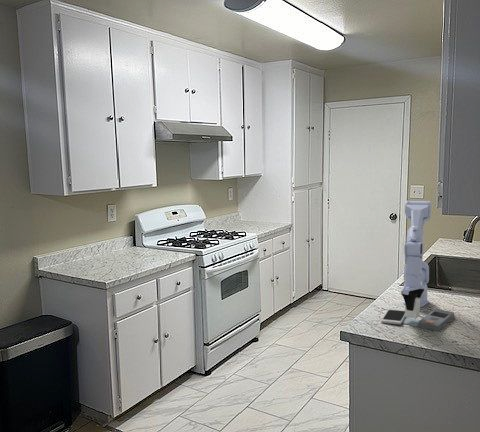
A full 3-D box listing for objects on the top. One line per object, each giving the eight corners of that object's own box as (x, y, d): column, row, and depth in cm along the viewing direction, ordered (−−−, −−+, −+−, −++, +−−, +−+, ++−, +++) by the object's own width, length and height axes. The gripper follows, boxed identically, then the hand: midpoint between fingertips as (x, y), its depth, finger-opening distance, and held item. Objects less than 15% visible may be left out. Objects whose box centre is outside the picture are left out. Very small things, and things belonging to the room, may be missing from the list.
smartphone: (407, 311, 179) (407, 309, 179) (400, 324, 165) (400, 322, 165) (389, 310, 182) (389, 307, 182) (381, 322, 169) (381, 320, 169)
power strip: (435, 313, 178) (435, 307, 177) (453, 317, 173) (454, 311, 173) (418, 326, 164) (418, 320, 164) (437, 331, 160) (438, 325, 159)
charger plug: (409, 313, 171) (409, 295, 170) (419, 315, 169) (420, 297, 168) (404, 316, 168) (405, 298, 167) (415, 318, 166) (416, 300, 165)
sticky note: (406, 318, 173) (406, 317, 173) (423, 321, 169) (423, 321, 169) (400, 322, 169) (400, 322, 169) (417, 326, 164) (417, 326, 164)
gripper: (416, 279, 158) (415, 316, 160) (431, 271, 169) (430, 305, 171) (397, 276, 163) (396, 312, 165) (412, 268, 174) (411, 302, 176)
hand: (412, 308), depth 168 cm, fingers closed on charger plug, 4 cm apart
